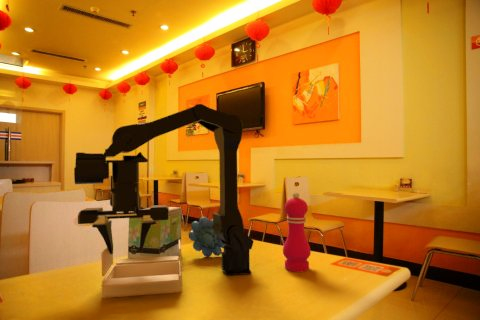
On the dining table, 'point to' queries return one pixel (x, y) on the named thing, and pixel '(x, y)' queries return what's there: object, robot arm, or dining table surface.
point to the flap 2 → (180, 255)
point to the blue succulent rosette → (205, 238)
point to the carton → (143, 277)
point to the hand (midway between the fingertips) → (126, 252)
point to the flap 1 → (106, 261)
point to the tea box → (156, 236)
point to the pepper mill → (296, 236)
